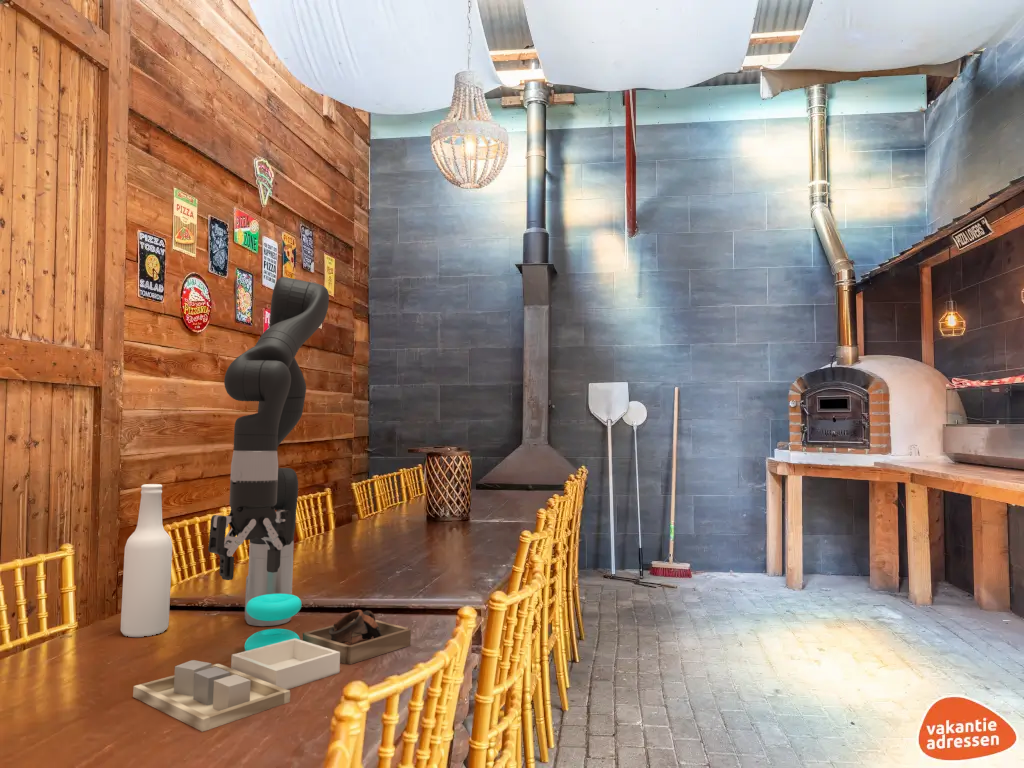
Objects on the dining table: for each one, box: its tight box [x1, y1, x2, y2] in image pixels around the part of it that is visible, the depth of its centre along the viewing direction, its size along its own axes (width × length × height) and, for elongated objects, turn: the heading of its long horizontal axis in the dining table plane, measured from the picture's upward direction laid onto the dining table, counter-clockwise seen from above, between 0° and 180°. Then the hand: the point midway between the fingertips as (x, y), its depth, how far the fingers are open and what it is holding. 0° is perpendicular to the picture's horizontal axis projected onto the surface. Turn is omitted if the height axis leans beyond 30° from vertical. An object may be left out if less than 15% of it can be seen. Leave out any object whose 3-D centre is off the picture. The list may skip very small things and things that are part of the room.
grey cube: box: [193, 667, 230, 706], centre depth 109 cm, size 4×4×4 cm
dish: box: [230, 638, 341, 690], centre depth 121 cm, size 13×13×4 cm
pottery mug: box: [329, 609, 381, 645], centre depth 138 cm, size 12×10×8 cm
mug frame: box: [302, 619, 412, 665], centre depth 138 cm, size 14×16×3 cm
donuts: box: [244, 594, 302, 651], centre depth 135 cm, size 10×10×10 cm
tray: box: [132, 663, 291, 733], centre depth 109 cm, size 20×14×2 cm
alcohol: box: [120, 483, 173, 638], centre depth 147 cm, size 9×9×30 cm
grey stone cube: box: [174, 659, 213, 696], centre depth 112 cm, size 4×4×4 cm
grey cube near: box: [213, 674, 251, 711], centre depth 106 cm, size 4×4×4 cm
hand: (250, 575), depth 119 cm, fingers open, 8 cm apart
